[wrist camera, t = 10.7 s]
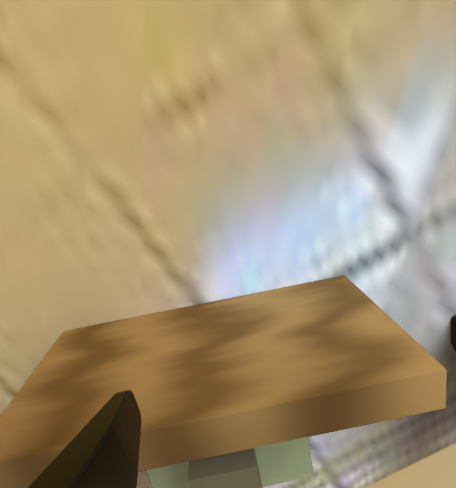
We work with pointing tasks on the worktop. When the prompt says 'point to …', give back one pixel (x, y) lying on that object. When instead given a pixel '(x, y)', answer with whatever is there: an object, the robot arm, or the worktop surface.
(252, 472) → the pale green blocky piece
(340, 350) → the wooden board
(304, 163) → the worktop surface
